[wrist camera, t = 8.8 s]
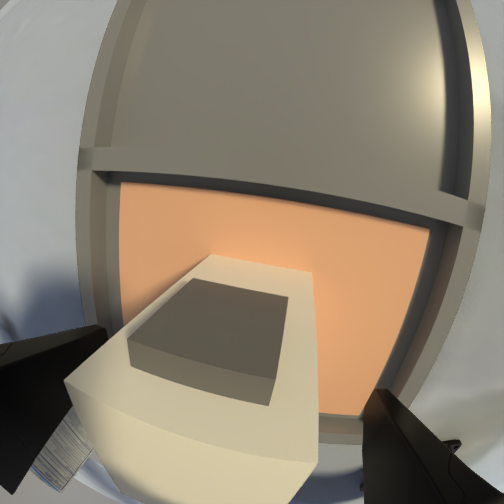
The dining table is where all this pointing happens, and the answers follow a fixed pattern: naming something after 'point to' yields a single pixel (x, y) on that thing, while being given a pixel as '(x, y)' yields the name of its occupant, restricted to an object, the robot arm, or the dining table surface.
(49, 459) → the medicine box
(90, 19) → the dining table surface
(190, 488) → the plug
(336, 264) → the dock
